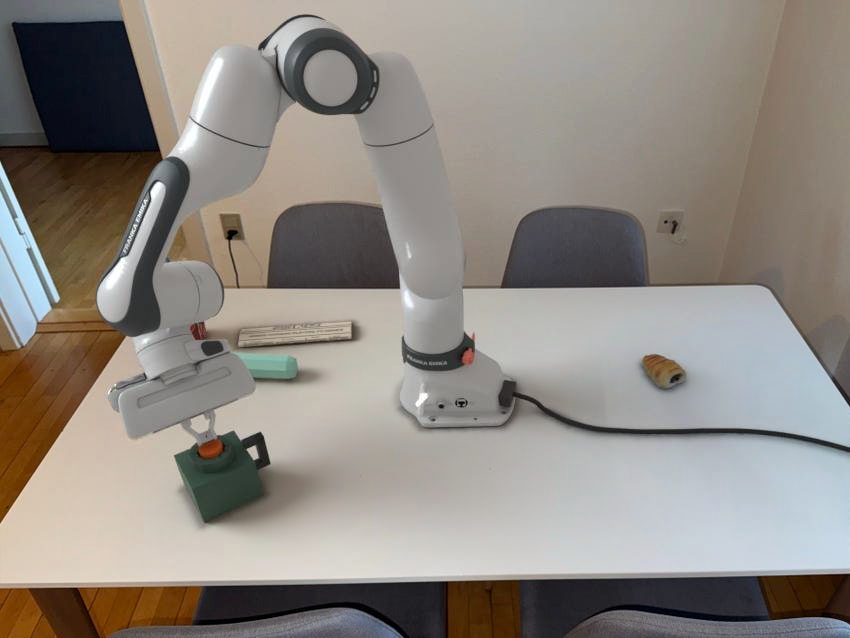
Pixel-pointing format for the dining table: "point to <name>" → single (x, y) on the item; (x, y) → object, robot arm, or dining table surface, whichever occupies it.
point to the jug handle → (258, 449)
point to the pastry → (663, 370)
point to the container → (270, 365)
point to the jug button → (211, 449)
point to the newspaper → (295, 334)
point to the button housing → (219, 477)
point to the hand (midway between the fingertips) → (208, 442)
